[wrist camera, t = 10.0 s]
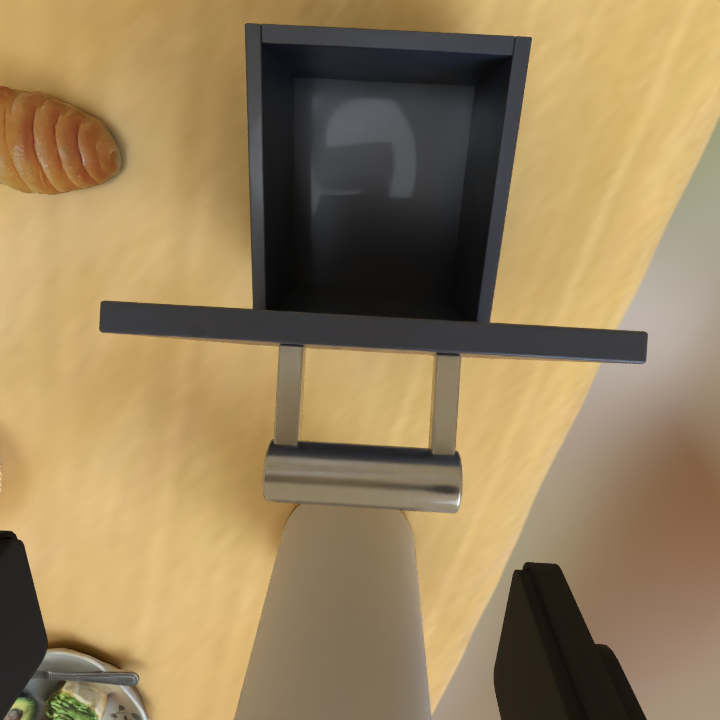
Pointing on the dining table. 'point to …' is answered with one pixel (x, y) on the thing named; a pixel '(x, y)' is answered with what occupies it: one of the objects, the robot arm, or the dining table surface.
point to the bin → (380, 168)
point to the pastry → (52, 145)
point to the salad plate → (78, 690)
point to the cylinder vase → (340, 622)
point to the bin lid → (373, 334)
